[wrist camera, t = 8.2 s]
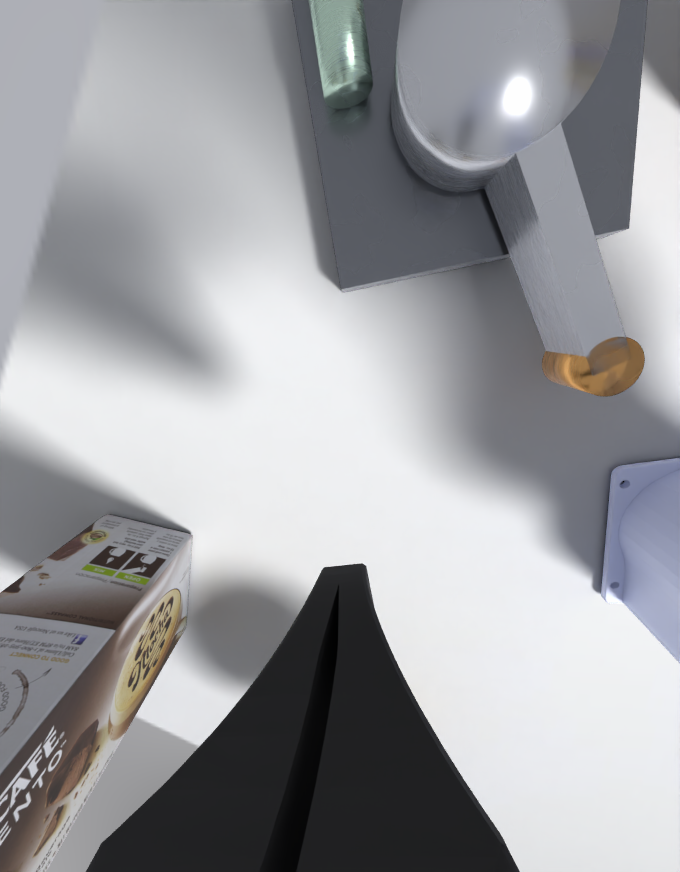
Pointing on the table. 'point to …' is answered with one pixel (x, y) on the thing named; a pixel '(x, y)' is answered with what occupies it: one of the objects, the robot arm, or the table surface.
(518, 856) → the table surface
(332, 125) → the plate
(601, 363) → the silver pan
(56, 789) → the coffee box
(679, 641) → the robot arm
